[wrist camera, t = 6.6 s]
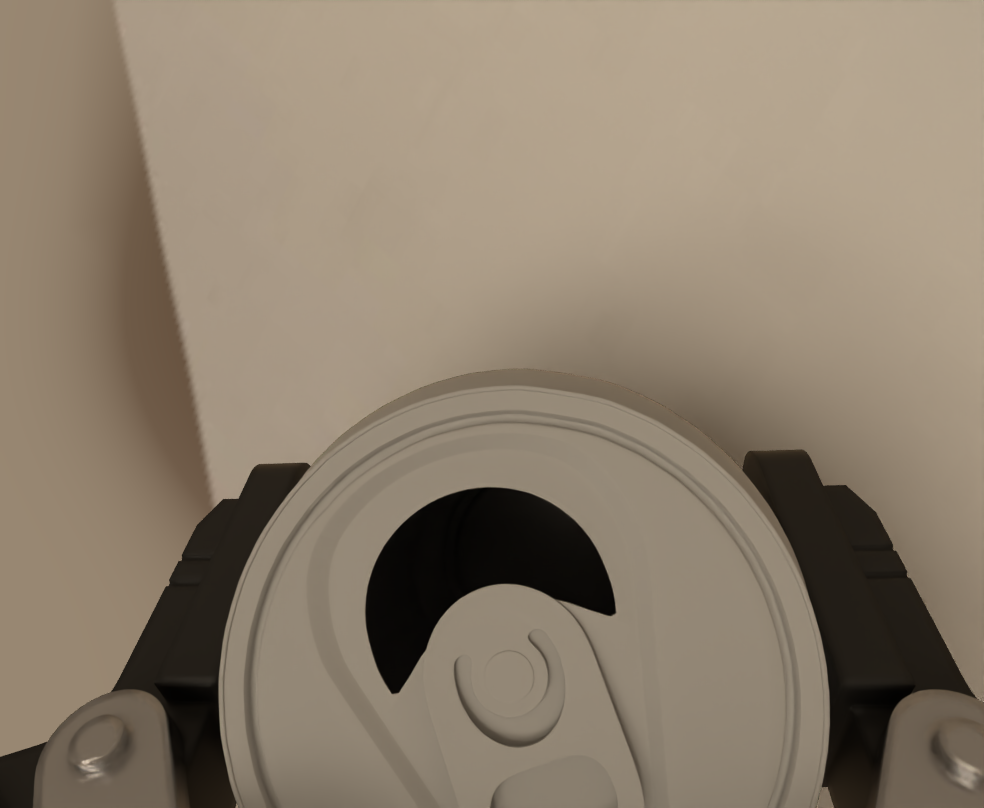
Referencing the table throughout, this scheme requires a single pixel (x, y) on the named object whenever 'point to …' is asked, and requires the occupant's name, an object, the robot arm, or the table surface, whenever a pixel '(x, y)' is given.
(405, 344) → the table surface
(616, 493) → the beverage can
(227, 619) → the robot arm
